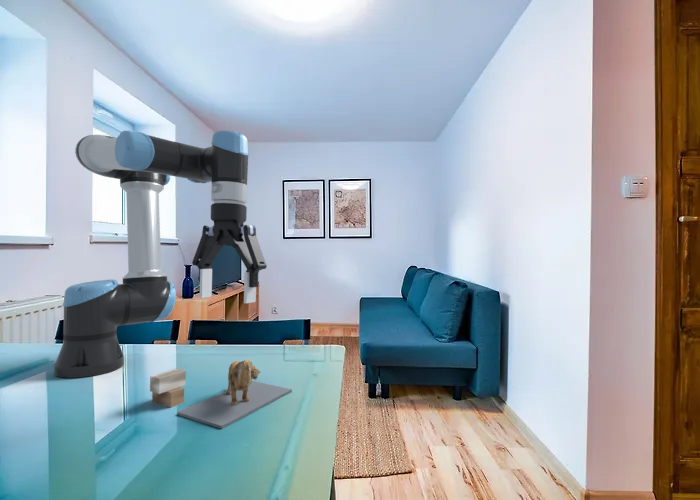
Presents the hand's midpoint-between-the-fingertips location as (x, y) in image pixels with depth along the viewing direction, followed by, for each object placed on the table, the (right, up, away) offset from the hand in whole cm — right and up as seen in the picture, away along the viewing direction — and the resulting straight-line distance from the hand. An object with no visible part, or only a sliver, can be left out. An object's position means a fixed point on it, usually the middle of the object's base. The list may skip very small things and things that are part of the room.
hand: (226, 300), depth 80 cm
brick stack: (-11, -21, -5) cm, 24 cm away
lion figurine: (+4, -20, -3) cm, 21 cm away
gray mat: (+4, -21, -5) cm, 22 cm away
